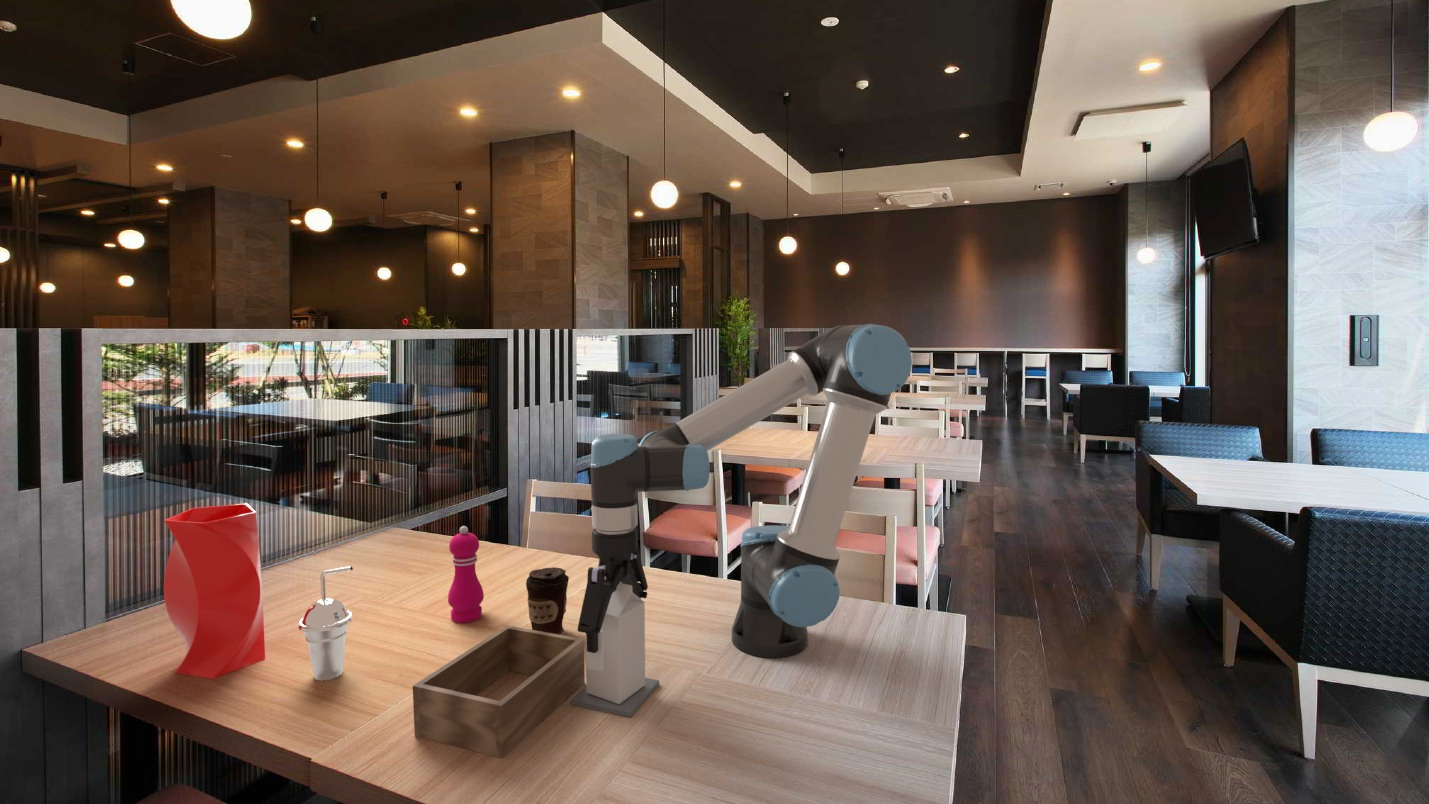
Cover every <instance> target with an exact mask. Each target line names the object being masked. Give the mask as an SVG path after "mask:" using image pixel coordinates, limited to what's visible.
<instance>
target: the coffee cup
mask: <svg viewBox="0 0 1429 804" xmlns="http://www.w3.org/2000/svg"><path fill="white" fill-rule="evenodd" d="M566 573H567V571H566V570H565V569H564V568H561V567H543V568H540V569H533V570H530V572H529V576H528V577H527V578H526V581H525V587H526V590H527V605H528V607H527V608H528V617H529V621H530V623H531V630H536V631H542V632H547V633H553V634H558V635H564V633H565V629H564V627H563V621H564V616H565V614H566V612H567V602H568V600H567V599H568V597H567V590H568V586H569V585H568V584H569V579H570V578H569V575H567V574H566Z"/></svg>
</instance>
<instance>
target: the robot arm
mask: <svg viewBox="0 0 1429 804" xmlns="http://www.w3.org/2000/svg"><path fill="white" fill-rule="evenodd" d="M912 356H913V355H912V353H911V349H910V347H909V345H908V343H907V341H906V339H905V338H904V336H903V335H902V334H901V333H900V332H898V331H897V330H895V329H894V328H892V327H889V326H886V325H881V324H880V325H879V324H876V323H866V324H842V325H837V326H834V327H832V328H830V329H828V330H826V331H823V332H822V333H821V334H819V335H818V336H815V337H814V338H812V339H811V340H809V341H807V342H806V343H804V344H803V345H801V346H799V347H797V348H796V349H794V350H792V351H790V352H789V353H788V356H787V359H786V360H785V361H783V362H782V363H780V364H777V365H776V366H775V367H773V368H770V369H769V370H768V371H765V372H763V373H762V374H760V375H759V376H757V377H755V378H753V379H752V380H750V381H748V382H746V383H744V384H743V385H741V386H738V387H737V388H735V389H734V390H732V391H731V392H729V393H726V394H725V395H723V396H721V397H719V398H718V399H715V400H714V401H712V402H711V403H708V404H707V405H705V406H703V407H702V408H700V409H699V410H696V411H695V412H693V413H691V414H689V415H688V416H686V417H684V418H682V419H680V420H679V421H677V422H675V423H674V424H672V425H669V426H668V427H666V428H665V429H663V430H656V431H651V432H649V433H647V434H646V435H645V436H643V438H642V439H641V440H640V443H639V444H638V440H637V437H636V436H635V435H632V434H626V433H622V434H621V433H609V434H601V435H597V436H596V437H595V438H594V439H593V440H592V442H591V446H590V447H591V451H590V464H589V465H590V490H591V491H590V492H591V495H590V496H591V507H590V511H591V527H592V528H593V529H592V531H591V550H592V553H594V554H595V555H596V556H597V557H598V560H599V561H598V565H597V567H593V566H592V567H588V570H587V579H586V580H587V582H586V583H587V584H586V587H585V592H584V597H583V601H582V605H581V606H582V607H581V609H580V616H579V621H578V625H577V632H579V633H583V634H585V638H586V637H587V669H591V670H596V671H603V670H604V630H601V627H602V624H603V621H604V617H605V614H606V611H607V608H608V605H609V601H610V598H611V595H612V593H613V592H615V591H616V588H617V585H618V584H619V583H623V584H627V585H631V586H632V592H633V593H634V594H635V595H637V596H638V597H639V598H640V599H641V600H642V599H646V598H647V597H648V591H647V590H648V588H649V585H648V582H647V578H646V575H645V571H644V567H643V563H642V559H641V553H640V546H639V544H638V529H637V528H636V527H637V526H638V524H639V523H638V519H639V518H638V493H641V492H643V493H645V492H647V493H648V492H667V491H668V492H669V491H672V492H673V491H686V492H688V491H692V490H699V489H704V488H705V487H706V486H707V485H708V483H709V480H710V474H711V473H710V471H711V470H710V468H711V466H710V458H709V457H710V456H709V453H708V451H710V450H712V449H713V448H715V447H717V446H718V445H720V444H722V443H724V442H725V441H727V440H729V439H731V438H733V437H734V436H736V435H738V434H740V433H741V432H743V431H745V430H746V429H748V428H750V427H752V426H754V425H755V424H757V423H760V422H761V421H762V420H764V419H766V418H767V417H769V416H771V415H773V414H775V413H776V412H778V411H780V410H782V409H784V408H785V407H787V406H789V405H790V404H792V403H794V402H796V401H798V400H799V399H801V398H803V397H805V396H806V395H808V396H812V397H813V396H816V395H818V394H821V393H822V392H823V393H824V395H825V397H826V399H827V404H826V407H825V410H824V413H823V416H822V419H821V423H820V426H819V429H818V432H817V435H816V438H815V442H814V445H813V449H812V451H811V454H810V458H809V461H808V463H807V464H808V465H807V468H806V471H805V474H804V477H803V480H802V484H801V488H800V490H799V493H798V497H797V499H796V503H795V505H794V509H793V512H792V516H791V519H790V523H789V526H788V525H772V524H771V525H760V526H759V525H758V526H751V527H749V528H746V529H745V530H744V531H743V532H742V535H741V544H740V550H741V551H740V552H741V553H740V558H741V559H740V560H741V561H740V565H741V566H740V568H741V569H740V603H739V607H738V609H737V613H736V616H735V619H734V620H733V624H732V627H731V642H732V644H733V645H734V646H735V647H736V648H737V649H738V650H739V651H741V652H743V653H746V654H749V655H752V656H756V657H763V658H786V657H789V656H790V657H791V656H793V655H796V654H800V653H801V652H803V650H805V649H804V648H807V646H808V644H807V643H808V642H809V641H808V640H809V639H808V638H809V637H808V636H809V633H808V628H809V627H814V626H816V625H817V624H819V623H821V622H824V621H825V620H826V619H828V618H829V617H830V616H831V614H833V612H834V611H835V609H836V607H837V606H838V603H839V600H840V592H841V590H840V585H839V582H838V579H837V577H836V575H835V574H836V571H837V567H838V564H839V561H840V559H841V558H840V557H841V555H840V552H839V551H838V549H837V547H836V541H837V538H838V535H839V531H840V528H841V525H842V521H843V518H844V515H845V512H846V509H847V506H848V503H849V499H850V496H851V494H852V493H851V492H852V489H853V486H854V484H855V480H856V477H857V474H858V471H859V467H860V464H861V461H862V459H863V454H864V452H865V448H866V445H867V443H868V442H867V441H868V440H869V435H870V432H871V429H872V426H873V423H874V420H875V417H876V416H877V415H879V414H880V413H882V412H884V411H885V410H887V409H888V405H889V403H890V399H891V396H892V393H894V392H896V391H898V390H899V389H901V388H902V387H903V386H904V385H905V384H906V383H907V381H908V379H909V378H910V374H911V371H912V367H913V359H912ZM604 583H605V584H604Z"/></svg>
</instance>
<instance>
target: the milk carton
mask: <svg viewBox="0 0 1429 804" xmlns="http://www.w3.org/2000/svg"><path fill="white" fill-rule="evenodd" d="M604 584H605V583H604ZM645 606H646V605H645V601H644V600H642V598H641V599H640V598H639V597H638V596H637V595H635V594H634V593H633V592H632V586H631V585H627V584H623V583H621V582H620V583H619V584H618V585H617V588H616V591H615V592H613V593H612V595H611V598H610V601H609V605H608V608H607V611H606V614H605V617H604V621H603V624H602V627H601V630H604V670H603V671H596V670H591V669H587V637H586V636H585V669H586V670H585V672H586V673H585V674H586V675H585V678H586V680H585V682H586V685H585V686H586V689H587V693H589V694H592V695H594V696H597V697H600V698H603V699H606V700H609V701H611V702H614V703H617V704H620V703H622V702H623V701H624V700H626V699H627V698H629V697H630V696H631V695H633V694H634V693H635V692H637V691H638V690H639V689H641V688H642V687H643V686H645V678H646V636H645V635H646V620H645V619H646V616H645V615H646V611H645V610H646V609H645V608H646V607H645Z"/></svg>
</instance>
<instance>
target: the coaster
mask: <svg viewBox="0 0 1429 804" xmlns="http://www.w3.org/2000/svg"><path fill="white" fill-rule="evenodd" d="M659 686H660V680H659V679H654V678H650V677H649V678H648V677H645V686H643V687H642V688H641V689H639V690H638V691H637V692H635V693H634V694H633V695H631V696H630V697H629V698H627V699H626V700H624V701H623V702H622V703H620V704H617V703H614V702H611V701H609V700H606V699H603V698H600V697H597V696H594V695H592V694H589V693H587V689H586V685H585V686H584V687H583V688H582V689H581V690H580V691H579V692H577V693H576V694H575V695H574V696H573V697H571V699H570V705H571V706H576V707H580V708H585V709H589V710H595V711H598V712H604V713H609V714H613V715H617V716H622V717H628V718H632V717H633V715H634V714H635V713H636V712H637V711H638V709H640V708H641V706H642V705H643V704H644V703H645V701H647V699H649V697H650V696H651V695H652V694H653V692H654V691H655V690H656V689H657V688H658V687H659Z"/></svg>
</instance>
